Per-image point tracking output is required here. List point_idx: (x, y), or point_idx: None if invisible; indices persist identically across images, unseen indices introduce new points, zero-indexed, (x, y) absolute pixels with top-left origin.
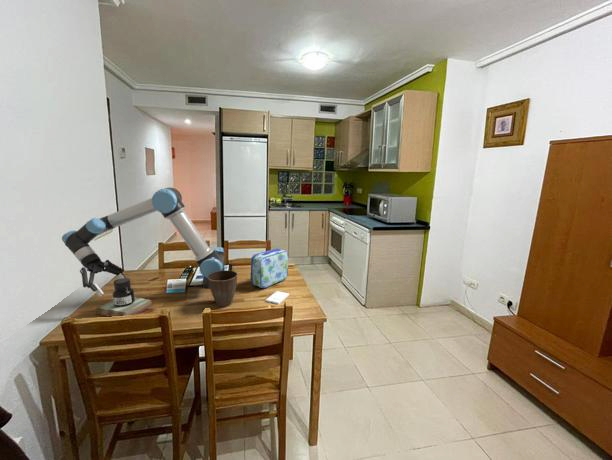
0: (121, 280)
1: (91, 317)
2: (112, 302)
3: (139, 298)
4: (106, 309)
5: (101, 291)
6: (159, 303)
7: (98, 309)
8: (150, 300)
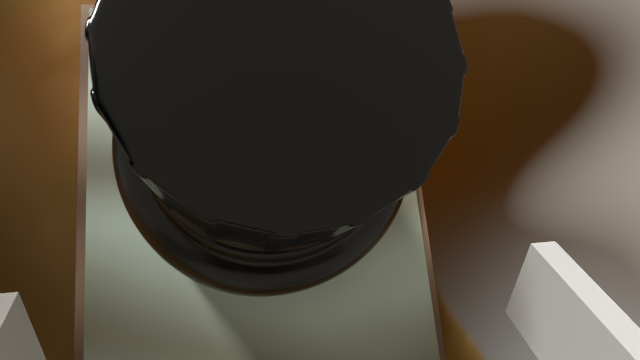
0: (285, 62)
1: (480, 355)
2: (300, 343)
3: (99, 138)
4: (421, 251)
5: (572, 275)
6: (31, 9)
7: (441, 354)
8: (86, 9)
